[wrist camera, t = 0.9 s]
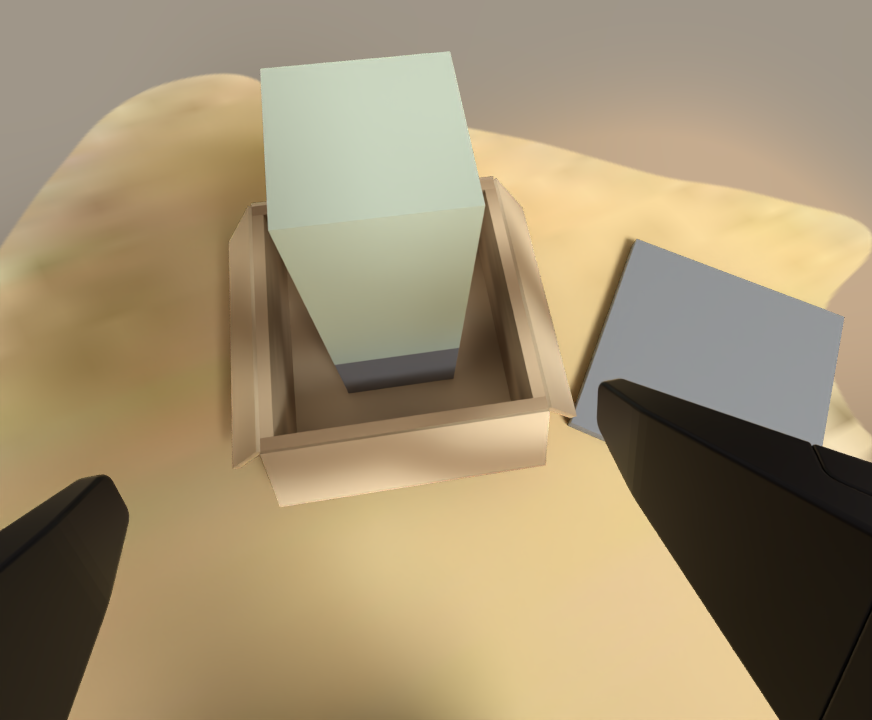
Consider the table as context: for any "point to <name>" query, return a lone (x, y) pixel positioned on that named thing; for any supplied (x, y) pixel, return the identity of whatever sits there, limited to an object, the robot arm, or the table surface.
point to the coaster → (715, 345)
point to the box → (375, 210)
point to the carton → (397, 406)
